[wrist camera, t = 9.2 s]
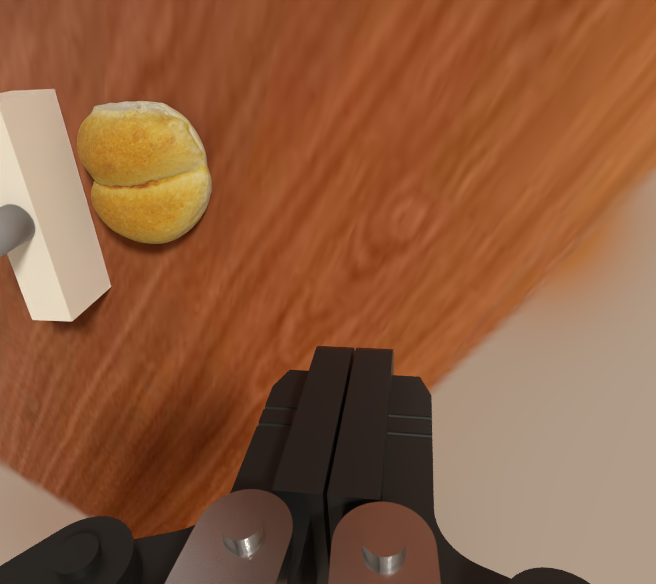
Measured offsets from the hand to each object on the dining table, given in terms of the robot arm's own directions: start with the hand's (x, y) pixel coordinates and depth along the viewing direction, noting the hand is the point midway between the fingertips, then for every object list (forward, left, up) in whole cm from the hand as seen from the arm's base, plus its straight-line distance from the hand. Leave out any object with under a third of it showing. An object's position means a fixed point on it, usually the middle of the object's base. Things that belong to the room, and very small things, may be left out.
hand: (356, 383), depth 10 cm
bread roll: (+2, -16, -23) cm, 28 cm away
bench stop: (+4, -23, -23) cm, 33 cm away
